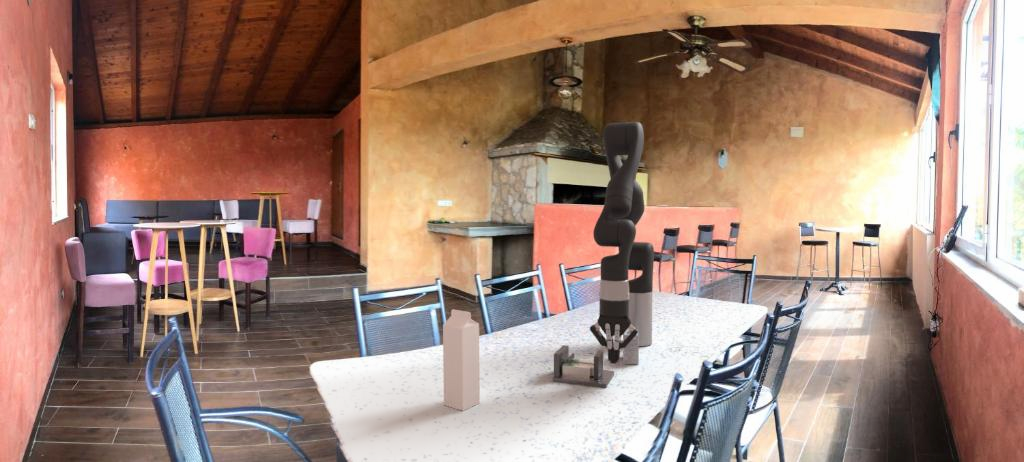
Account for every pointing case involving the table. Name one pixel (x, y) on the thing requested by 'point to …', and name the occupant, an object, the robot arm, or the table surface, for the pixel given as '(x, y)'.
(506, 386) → the table surface
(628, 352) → the medicine box
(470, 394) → the milk
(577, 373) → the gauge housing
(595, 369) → the plunger
